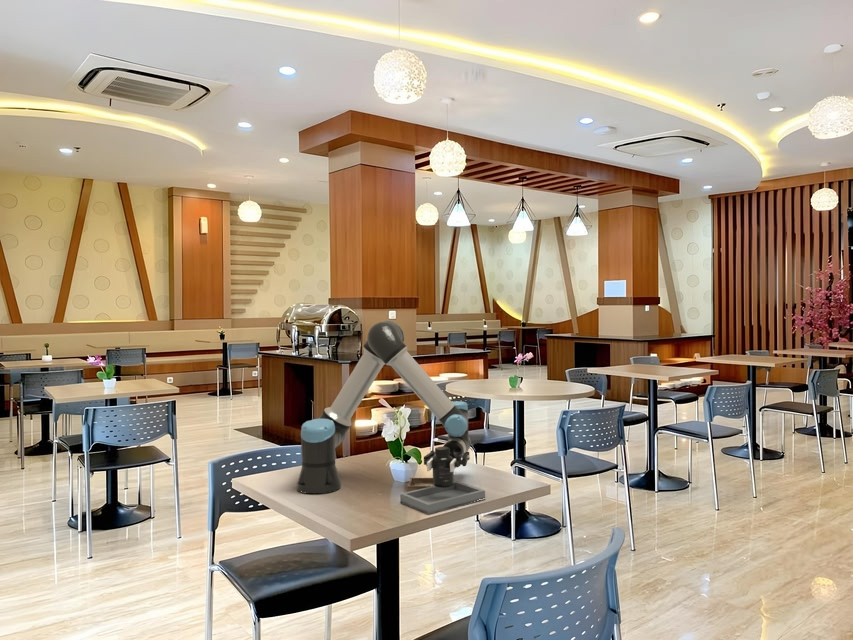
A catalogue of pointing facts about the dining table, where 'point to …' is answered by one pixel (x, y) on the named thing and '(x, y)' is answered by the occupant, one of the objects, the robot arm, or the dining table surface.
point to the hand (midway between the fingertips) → (439, 467)
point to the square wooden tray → (418, 480)
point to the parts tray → (441, 497)
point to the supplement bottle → (442, 468)
